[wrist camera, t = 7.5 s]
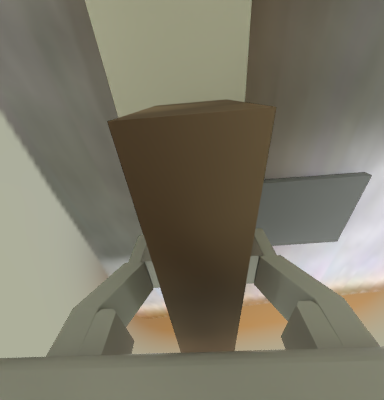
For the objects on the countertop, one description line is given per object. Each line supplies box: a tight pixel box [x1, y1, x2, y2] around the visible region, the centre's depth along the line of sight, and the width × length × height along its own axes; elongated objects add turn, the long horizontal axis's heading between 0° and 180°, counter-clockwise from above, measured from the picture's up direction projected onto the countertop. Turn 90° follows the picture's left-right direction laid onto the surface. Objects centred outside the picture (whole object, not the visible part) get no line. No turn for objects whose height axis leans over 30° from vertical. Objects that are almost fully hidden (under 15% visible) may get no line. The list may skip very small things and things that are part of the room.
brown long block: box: [107, 99, 276, 353], centre depth 8 cm, size 3×12×4 cm, turn 5°
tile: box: [85, 0, 252, 118], centre depth 8 cm, size 7×2×8 cm
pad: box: [255, 172, 372, 246], centre depth 15 cm, size 12×7×1 cm, turn 94°
